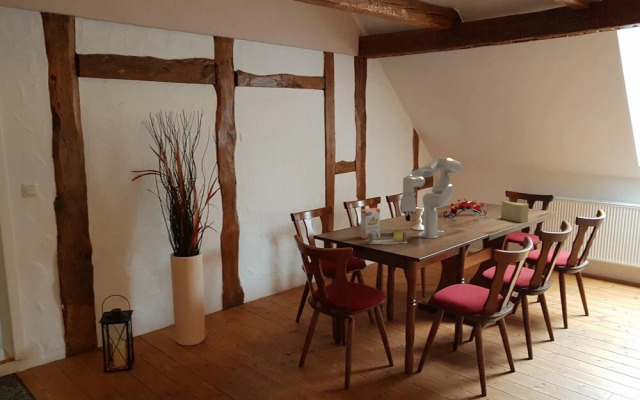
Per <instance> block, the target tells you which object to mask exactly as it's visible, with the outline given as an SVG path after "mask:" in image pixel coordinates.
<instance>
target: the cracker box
mask: <svg viewBox="0 0 640 400" xmlns="http://www.w3.org/2000/svg"><path fill="white" fill-rule="evenodd" d="M380 226H381V208H378V207H372V208H366V209H360V238H362V239H365V240H368V239H367V238H368V233H371V232H376V234H377V233H378V232H380V233H381V227H380Z"/></svg>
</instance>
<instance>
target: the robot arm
mask: <svg viewBox="0 0 640 400" xmlns="http://www.w3.org/2000/svg"><path fill="white" fill-rule="evenodd" d="M462 170H463V163H461V162H460V161H459V160H458V161H457V160H456V159H452V158H450V157H443V156H442V157H441V156H439V157H436V158H434V159H432V160H431V162H429V163H428V164H426V165H425V166H423V167H420V168H416V169H414V170H413V171H411V172H410V173H408V175H407V176H405V177H403V179H402V196H401V198H400V204H399V205H400V206H399V210H400V212H399V213H400V214H401V213H402V214H404V215H405V217H404V218H405V221H406V222H410V221H411V216H412V214H414V213H416V212H417V210H416V209H417V204H416V203H417V202H416V197H415V196H416V195H417V192H415V188H422V187H423V186H425V184H426V179H425V178H430V177H433V176H434V175H435V174H437V173H438V172H439V171H440V175H439V178H438V179H437V180H436V182H435V184H434V185H433V186H432V189H431V192H426V193H425V194H424V195H423V196H422V204H423V233H422V234H421V237H422V238H426V239H436V238H439V237H440V234H445V231H444V230H438V217H439V216H438V215H439V214H438V209H441V208H444V207H446V206H447V204H448V203H449V201H450V200H451V199H452V197H453V195H454V192H455V187H454V185H453V184H452V179H451V175H450V174H460V173H461V172H462Z"/></svg>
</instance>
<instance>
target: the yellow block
mask: <svg viewBox="0 0 640 400" xmlns="http://www.w3.org/2000/svg"><path fill="white" fill-rule="evenodd" d="M403 232H404V230H403V228H401V227H398V226H397V227H391V233H394V236H391V240H394V241H399V240H403Z"/></svg>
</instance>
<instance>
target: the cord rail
mask: <svg viewBox="0 0 640 400" xmlns="http://www.w3.org/2000/svg"><path fill="white" fill-rule="evenodd" d="M392 236H394V233H392V232H388V233H387V232H384V233H381V231H380V232H378V233H377V234H376V232H371V233H368V239H367V243H368V242H369V243H368V244H369V245H370V244H383V245H399V244H398V243H403V244H408V240H407V238H408V237H407V232H406V231H403V240H399V241H394V240H393V239H381V238H385V237H386V238H388V237H392ZM373 239H376V240H373ZM378 239H380V240H378Z"/></svg>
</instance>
